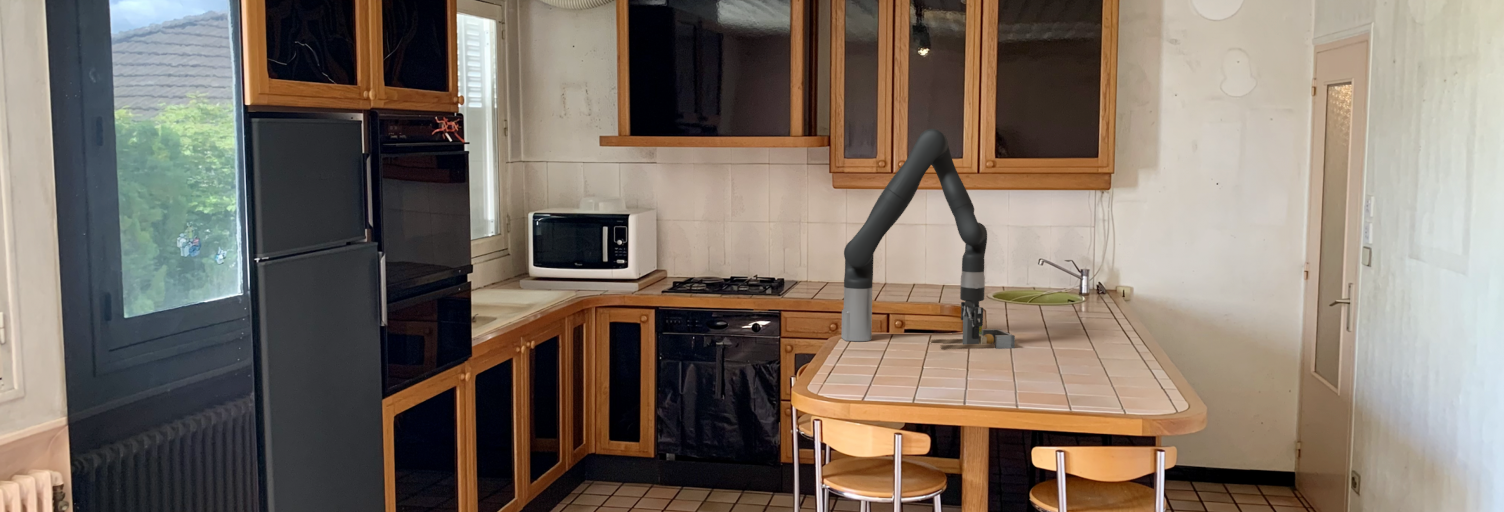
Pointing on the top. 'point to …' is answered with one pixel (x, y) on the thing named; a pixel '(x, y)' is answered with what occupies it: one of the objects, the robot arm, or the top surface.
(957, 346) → the lane
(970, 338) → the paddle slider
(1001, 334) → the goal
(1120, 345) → the top surface
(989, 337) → the ball
